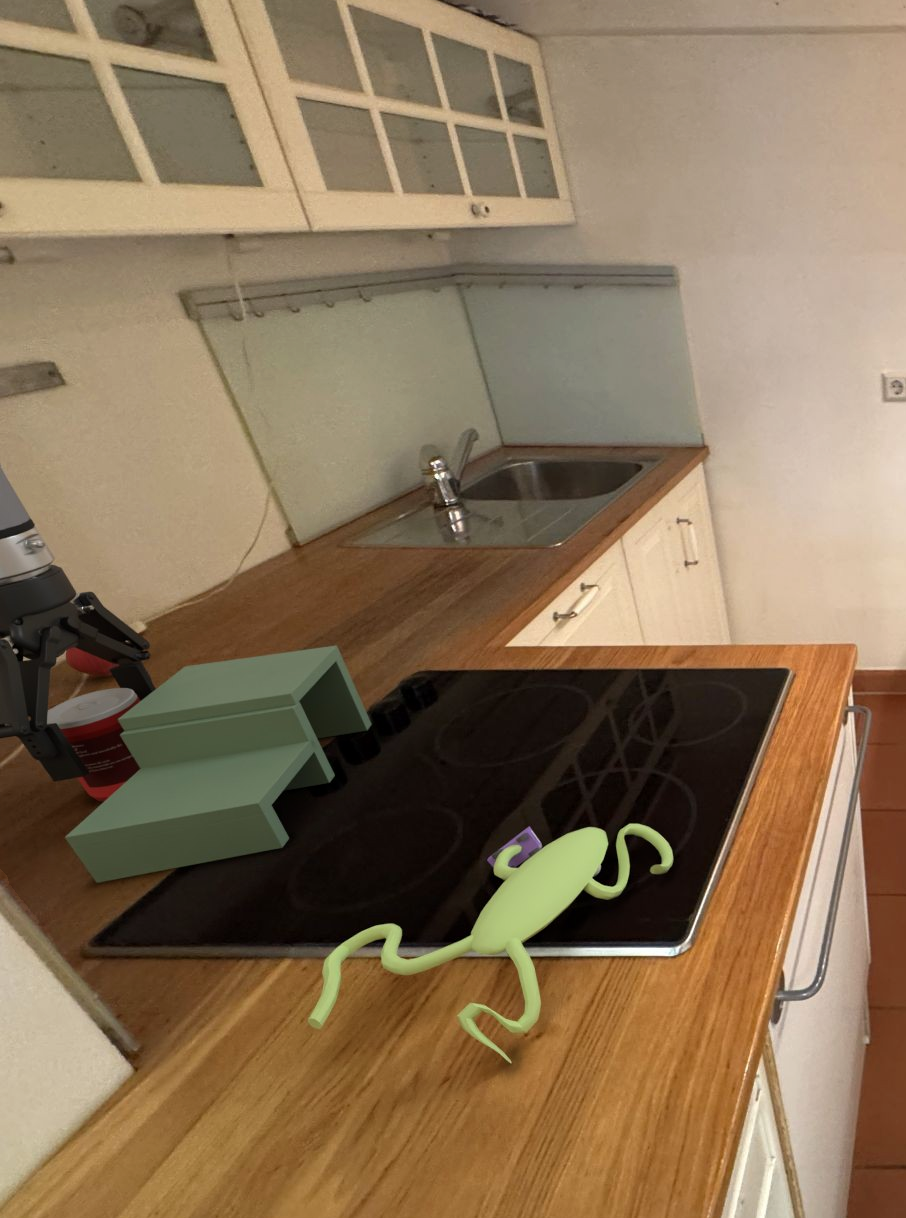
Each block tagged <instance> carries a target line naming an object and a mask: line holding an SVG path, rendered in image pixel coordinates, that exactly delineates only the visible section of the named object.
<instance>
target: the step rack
mask: <svg viewBox="0 0 906 1218" xmlns="http://www.w3.org/2000/svg"><path fill="white" fill-rule="evenodd" d="M118 721H119V723H120V724H121V726H122V728H123V729H124V730H125V731H124V732H123V733H121V734H120V736H121V738H122V739H123V741H124V743H125V744H126V746H127V747H128V749H129V751H130V752H131V754H132V756H133V757H134V759H135V760H136V762H137V764H138V765H139V767H140V768H141V769H140V770H139V771H138V772H136V773H135V774H134V775H133V776H132V777H131V778H130V779H129V780H128V781H127V782H125V783H124V784H123V785H122V786H121V787H120V788H119V789H118V790H117V791H115V792H114V793H113V794H112V795H111V796H110V797H109V798H108V799H107V800H105V801H104V802H103V801H102V803H101V804H100V805H99V806H97V807H96V809H94V810H93V811H92V812H91V813H90V814H89V815H87V816H86V817H85V818H84V819H83V820H82V821H81V822H80V823H78V825H76V826H75V827H74V828H73V829H72V830H71V831H70V832H68V834H66V835H65V837H64V838H65V840H66V842H67V843H68V844H69V846H70V847H71V848H72V849H73V851H74V853H75V854H76V855H77V857H78V858H79V860H80V862H81V863H82V864H83V866H84V867H85V868H86V870H87V871H88V873H89V874H90V875H91V877H92V878H93V880H94V881H95V883H96V884H99V883H104V882H105V883H106V882H110V881H114V880H119V879H124V878H131V877H136V876H140V875H141V876H142V875H146V874H147V875H148V874H151V873H157V872H162V871H166V870H173V869H178V868H183V867H188V866H193V865H198V864H204V863H208V862H214V861H220V860H225V859H230V858H235V857H242V856H246V855H252V854H257V853H263V852H267V851H272V850H278V849H282V848H284V846H285V845H286V843H287V842H288V841H289V840H290V837H289V835H288V833H287V831H286V830H285V828H284V826H283V824H282V822H281V821H280V819H279V817H278V814H277V812H276V811H275V809H274V806H273V804H274V803H275V801H276V800H277V799H278V797H279V796H280V795H281V794H282V793H283V792H285V791H289V790H297V789H303V788H308V787H314V786H320V785H326V784H330V783H331V781H332V780H333V779H334V778H335V776H336V775H335V772H334V770H333V768H332V765H331V764H330V763H329V760H328V757H327V756H326V754H325V751H324V749H323V748H322V745H321V743H320V741H319V739H324V738H330V737H336V736H341V735H349V734H354V733H361V732H366V731H368V730H369V729H370V727H371V726H372V722H371V719H370V717H369V715H368V713H367V711H366V708H365V706H364V704H363V702H362V699H361V697H360V694H359V693H358V691H357V687H356V685H355V684H354V681H353V679H352V676H351V675H350V672H349V670H348V667H347V666H346V663H345V661H344V659H343V656H342V654H341V652H340V649H339V647H338V645H329V646H323V647H315V648H308V649H301V650H293V651H287V652H279V653H278V652H277V653H272V654H265V655H257V656H251V657H243V658H236V659H230V660H222V661H213V662H207V663H201V664H200V663H199V664H193V665H187V666H183V667H182V668H181V669H180V670H178V671H177V672H176V673H174V674H173V675H172V676H171V677H169V678H168V679H167V680H165V681H164V682H163V683H161V685H159V686H158V687H157V688H156V690H154V691H153V692H152V693H150V694H149V695H148V696H147V697H145V698H144V699H143V700H142V701H140V702H139V703H138V704H136V705H135V706H134V707H133V708H131V709H130V710H129V711H128V712H126V713H125V714H124V715H122V716H121V717H120V718H119V719H118Z"/></svg>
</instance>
